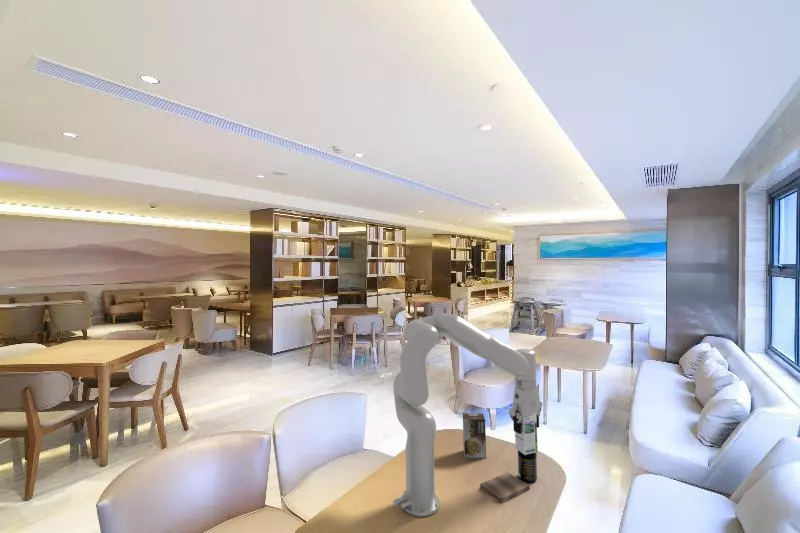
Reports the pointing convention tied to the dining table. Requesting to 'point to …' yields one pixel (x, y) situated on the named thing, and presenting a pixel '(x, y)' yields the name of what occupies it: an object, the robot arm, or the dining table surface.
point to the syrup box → (527, 435)
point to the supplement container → (527, 467)
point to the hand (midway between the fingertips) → (526, 429)
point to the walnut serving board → (504, 487)
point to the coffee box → (474, 435)
